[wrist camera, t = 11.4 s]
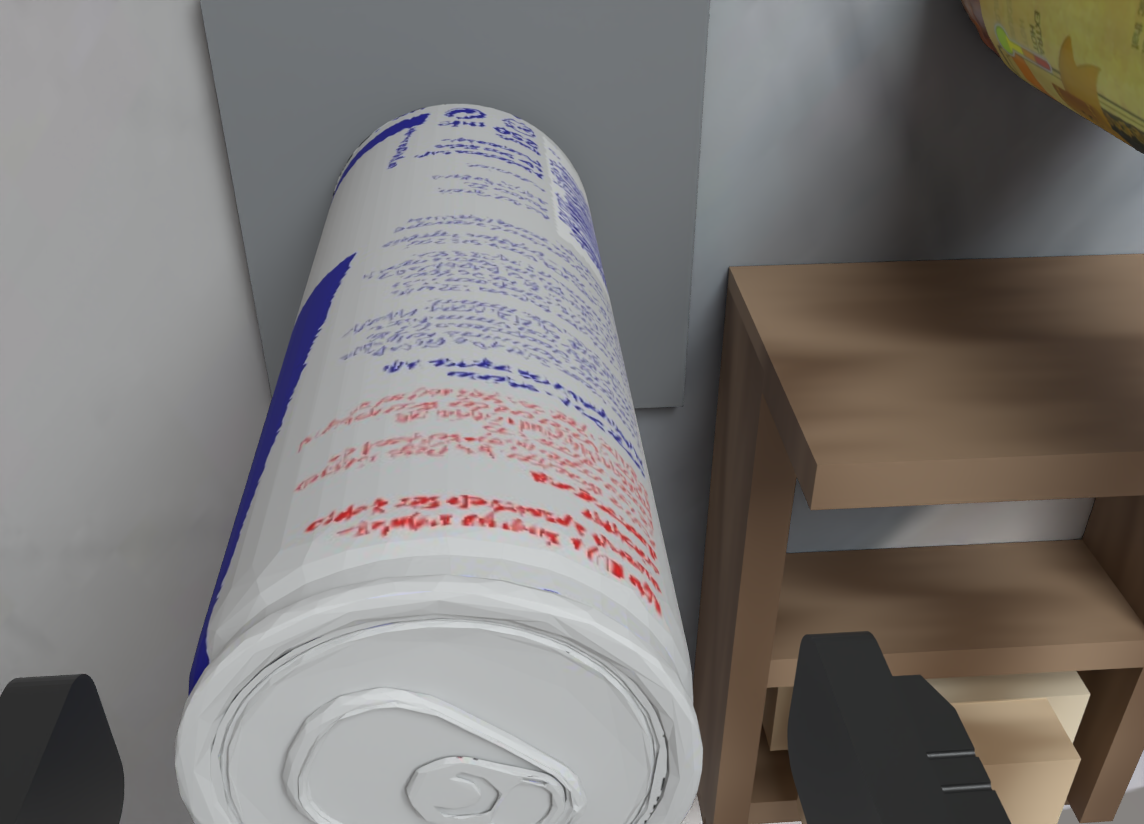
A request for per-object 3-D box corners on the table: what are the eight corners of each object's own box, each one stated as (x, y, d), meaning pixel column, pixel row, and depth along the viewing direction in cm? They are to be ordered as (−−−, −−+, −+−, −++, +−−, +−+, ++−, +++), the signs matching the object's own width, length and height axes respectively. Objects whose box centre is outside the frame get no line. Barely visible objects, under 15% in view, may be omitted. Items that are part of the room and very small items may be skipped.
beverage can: (296, 128, 22) (62, 660, 10) (560, 69, 22) (666, 536, 10) (377, 356, 25) (277, 983, 13) (609, 306, 25) (739, 896, 13)
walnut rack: (687, 746, 35) (736, 993, 28) (729, 267, 25) (817, 464, 19) (1048, 725, 35) (1180, 961, 29) (1218, 251, 26) (1470, 437, 19)
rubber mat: (280, 408, 27) (276, 422, 26) (204, -16, 21) (197, -10, 21) (679, 393, 27) (683, 406, 27) (706, -24, 22) (711, -18, 21)
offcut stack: (756, 699, 34) (803, 870, 29) (766, 605, 32) (819, 773, 27) (1003, 684, 34) (1092, 850, 29) (1031, 590, 32) (1132, 752, 27)
